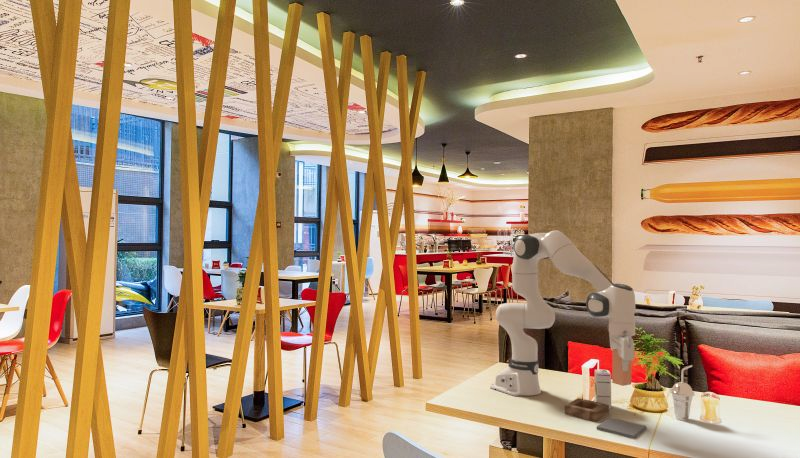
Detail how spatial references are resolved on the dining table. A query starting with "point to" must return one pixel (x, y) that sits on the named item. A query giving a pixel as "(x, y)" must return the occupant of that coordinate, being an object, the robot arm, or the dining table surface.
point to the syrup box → (603, 387)
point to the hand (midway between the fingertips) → (621, 367)
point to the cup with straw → (682, 398)
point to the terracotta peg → (620, 370)
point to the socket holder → (587, 409)
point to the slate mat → (621, 427)
